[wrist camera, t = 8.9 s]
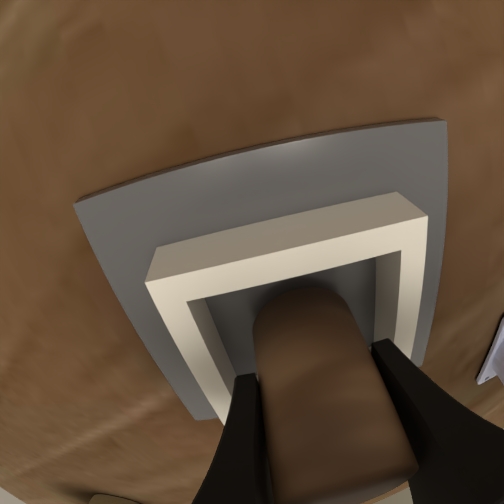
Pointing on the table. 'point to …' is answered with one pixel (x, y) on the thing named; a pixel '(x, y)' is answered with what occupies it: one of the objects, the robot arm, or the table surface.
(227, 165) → the holder
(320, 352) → the walnut peg
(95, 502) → the plant pot
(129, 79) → the table surface
